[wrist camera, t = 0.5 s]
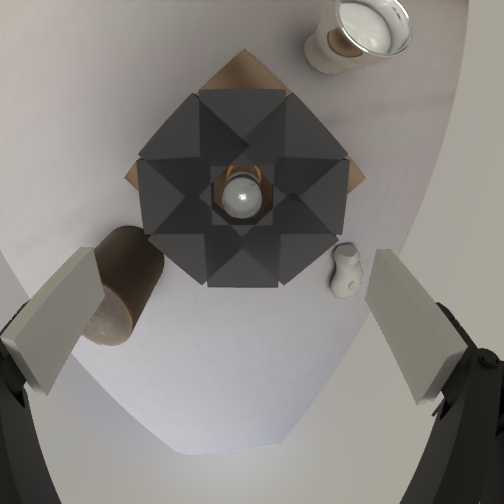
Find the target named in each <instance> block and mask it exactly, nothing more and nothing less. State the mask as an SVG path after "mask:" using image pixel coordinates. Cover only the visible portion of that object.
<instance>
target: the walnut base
mask: <svg viewBox="0 0 504 504" xmlns="http://www.w3.org/2000/svg"><path fill="white" fill-rule="evenodd" d="M207 89H285V90H286V97H287V96H288V95H290V94H291V93H292V92H291V91H290V90H289V89H288V88H287V87H286V86H285V85H284V84H283V83H282V82H281V81H280V80H279V79H278V78H277V77H276V76H275V75H273V74H272V73H271V72H270V71H269V70H268V69H267V68H266V67H265V66H264V65H263V64H262V63H261V62H260V61H258V60H257V59H256V58H255V57H254V56H253V55H252V54H251V53H249V52H248V51H247V50H246V49H244V50H242V51H241V52H240V53H239V54H238V55H237V56H236V57H234V58H233V59H232V60H231V61H230V62H229V63H228V64H227V65H226V66H225V67H223V68H222V69H221V70H220V71H219V72H218V73H217V74H216V75H215V76H214V77H213V78H212V79H211V80H210V81H209V82H208V83H207V84H206V85H205V86H204V87H203V88H202V89H201V90H207ZM196 95H197V96H199V92H198V93H197V94H196ZM141 158H142V157H140V158H139V159H141ZM344 158H346V159H348V160H350V168H349V179H348V189H347V194H348V193H349V192H351V191H352V190H353V189H354V188H355V187H356V186H357V185H358V184H360V183H361V182H362V181H363V180H364V179H365V178H366V177H365V176H364V175H363V173H362V172H361V171H360V170H359V168H358V167H357V166H356V165H355V163H354V162H353V161H352V160H351V158H350V157H349V156H348V155H346V156H345V157H344ZM139 159H138V160H139ZM228 168H229V166H228V167H227V168H226V169H225V170H224V171H223V172H222V173H221V174H220V175H219V176H218V177H217V178H216V179H215V180H214V202H215V203H216V204H217V205H218V206H219V207H220V208H221V209H223V210H224V211H225V212H226V213H227V214H228V215H229V216H230V217H233V216H231V215H230V214H229V213H228V212H227V211H226V210H225V209H224V207H223V203H222V195H223V192H224V189H225V185H226V182H227V178H226V175H227V170H228ZM124 178H125V179H126V180H127V181H128V182H129V183H131V184H132V185H133V186H134V187H135V188H136V189H137V190H138V191H139V187H138V177H137V165H136V163H135V164H134V165H133V167H132V168H131V169H130V171H129V172H128V173H127V174H126V176H125V177H124ZM260 188H261V195H262V203H261V206H260V208H259V210H258V211H257V212H256V213H255V214H254V215H253V216H251V217H255V216H256V215H258V214H259V213H260V212H261V211H262V210H263V209H264V208H265V207H266V206H267V205H268V204H270V203H271V197H272V182H271V181H270V180H269V179H268V178H267V177H266V176H265V175H264V174H263V173H262V172H261V181H260Z"/></svg>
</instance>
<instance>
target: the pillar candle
mask: <svg viewBox="0 0 504 504" xmlns="http://www.w3.org/2000/svg"><path fill="white" fill-rule="evenodd" d="M150 236H151V234H144V230H143V229H141V228H138V227H134V226H124V227H120V228H117V229H116V230H114V231H113V232H112V233H111V234H109V235H108V236H107V237H106V238H105V239H104V240H103V241H102V242H101V243H100V244H99V245H98V246H97V248H96V249H95V250H94V254H95V259H96V263H97V267H98V271H99V275H100V279H101V283H102V287H103V290H104V294H105V297H104V299H103V300H102V302H101V303H100V305H99V307H98V308H97V310H96V311H95V313H94V314H93V316H92V318H91V319H90V321H89V322H88V324H87V326H86V327H85V329H84V331H83V332H82V334H81V335H83V336H84V337H86V338H87V339H89V340H91V341H93V342H94V343H96V344H98V345H109V346H110V345H119V344H122V343H123V342H125V341H127V340H128V338H129V337H130V335H131V333H132V331H133V329H134V327H135V325H136V323H137V321H138V319H139V317H140V315H141V313H142V311H143V309H144V307H145V305H146V303H147V301H148V299H149V297H150V296H151V293H152V291H153V289H154V287H155V285H156V283H157V281H158V279H159V278H160V276H161V274H162V271H163V267H164V256H163V253H162V252H161V251H160V250H159V249H158V248H156V247H155V246H154V245H153V244H152V243H151V242H149V241H148V238H149V237H150Z"/></svg>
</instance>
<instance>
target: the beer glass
mask: <svg viewBox="0 0 504 504" xmlns="http://www.w3.org/2000/svg"><path fill="white" fill-rule="evenodd" d="M412 39H413V26H412V22H411V19H410V17H409V15H408V13H407V11H406V10H405V8H404V7H403V6H402V4H401V3H400V2H399V1H398V0H334V1H332V2H331V3H330V4H329V5H328V6H327V7H326V9H325V10H324V11H323V13H322V14H321V16H320V18H319V21H318V24H317V27H316V32H314V33H312V34H311V35H310V36H309V37H308V38H307V39H306V41H305V43H304V55H305V58H306V60H307V61H308V63H309V64H310V65H311V66H312V67H313V68H314V69H316V70H317V71H319V72H321V73H324V74H330V75H333V74H339V73H341V72H343V71H345V70H346V69H347V68H348V67H349V68H364V67H370V66H374V65H377V64H380V63H383V62H385V61H387V60H389V59H391V58H393V57H396V56H398V55H401V54H402V53H404V52H405V51H406V50H407V49H408V48H409V46H410V45H411V42H412Z"/></svg>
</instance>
